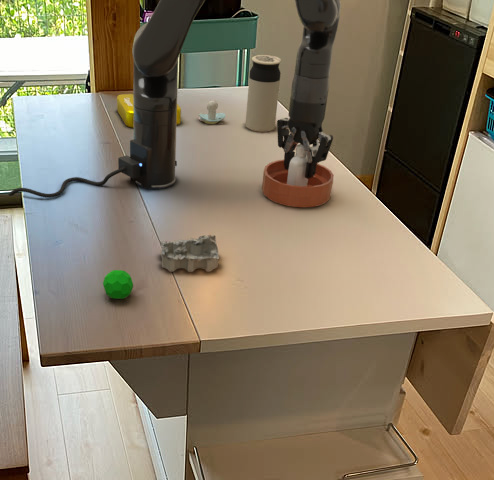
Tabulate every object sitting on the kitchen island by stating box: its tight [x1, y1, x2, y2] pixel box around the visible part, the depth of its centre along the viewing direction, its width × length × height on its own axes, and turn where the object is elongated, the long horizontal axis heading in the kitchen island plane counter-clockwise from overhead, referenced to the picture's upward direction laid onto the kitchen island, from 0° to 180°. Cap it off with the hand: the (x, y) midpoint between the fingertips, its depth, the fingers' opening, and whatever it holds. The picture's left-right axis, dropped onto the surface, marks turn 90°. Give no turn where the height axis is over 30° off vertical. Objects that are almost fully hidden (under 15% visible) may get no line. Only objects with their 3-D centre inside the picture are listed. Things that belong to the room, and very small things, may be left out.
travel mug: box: [244, 54, 282, 133], centre depth 187 cm, size 8×8×18 cm
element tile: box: [116, 93, 182, 129], centre depth 192 cm, size 15×15×5 cm
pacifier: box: [198, 99, 226, 125], centre depth 192 cm, size 7×6×6 cm
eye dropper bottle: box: [287, 143, 308, 186], centre depth 155 cm, size 4×6×12 cm
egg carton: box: [160, 234, 220, 273], centre depth 130 cm, size 11×8×4 cm
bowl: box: [261, 159, 335, 208], centre depth 157 cm, size 15×15×5 cm
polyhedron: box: [102, 269, 134, 300], centre depth 119 cm, size 5×5×5 cm
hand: (298, 172), depth 155 cm, fingers open, 5 cm apart
